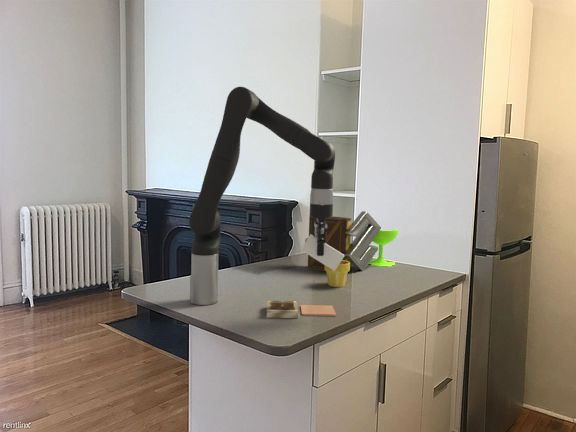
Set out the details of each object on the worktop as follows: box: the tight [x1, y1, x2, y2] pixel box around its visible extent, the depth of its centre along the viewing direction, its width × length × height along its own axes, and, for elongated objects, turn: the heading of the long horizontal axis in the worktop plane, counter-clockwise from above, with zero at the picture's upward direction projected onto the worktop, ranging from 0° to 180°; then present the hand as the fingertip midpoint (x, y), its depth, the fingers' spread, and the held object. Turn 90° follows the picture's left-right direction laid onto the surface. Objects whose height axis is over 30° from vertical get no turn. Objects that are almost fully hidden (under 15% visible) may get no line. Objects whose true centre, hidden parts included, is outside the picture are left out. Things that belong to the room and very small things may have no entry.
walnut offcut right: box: [283, 300, 294, 310], centre depth 159 cm, size 3×2×4 cm
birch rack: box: [266, 300, 299, 319], centre depth 161 cm, size 10×11×2 cm
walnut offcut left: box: [270, 300, 282, 310], centre depth 159 cm, size 3×2×4 cm
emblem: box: [343, 210, 382, 272], centre depth 228 cm, size 28×5×28 cm, turn 141°
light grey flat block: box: [300, 234, 344, 271], centre depth 162 cm, size 6×2×13 cm
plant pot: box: [325, 260, 351, 288], centre depth 200 cm, size 10×10×10 cm
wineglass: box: [369, 228, 399, 267], centre depth 245 cm, size 16×16×18 cm
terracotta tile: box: [300, 304, 337, 317], centre depth 164 cm, size 11×10×1 cm
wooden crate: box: [304, 215, 352, 273], centre depth 228 cm, size 22×8×25 cm, turn 58°
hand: (319, 254), depth 162 cm, fingers closed on light grey flat block, 2 cm apart
